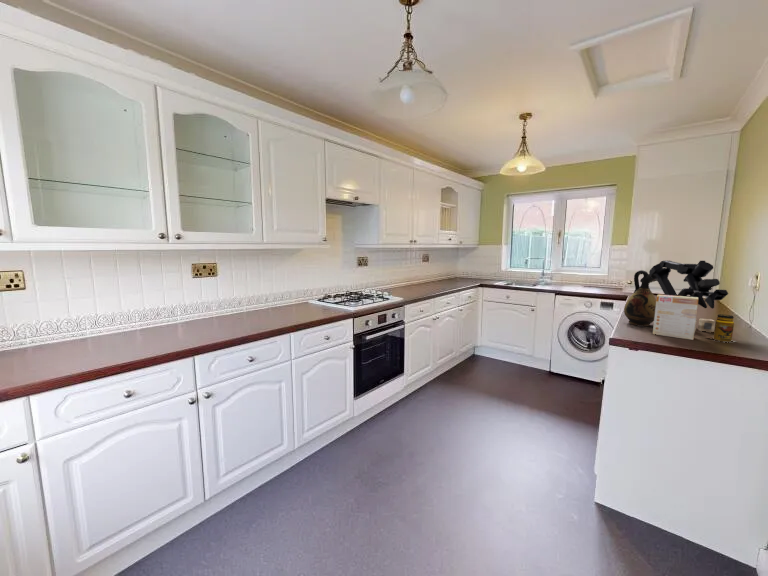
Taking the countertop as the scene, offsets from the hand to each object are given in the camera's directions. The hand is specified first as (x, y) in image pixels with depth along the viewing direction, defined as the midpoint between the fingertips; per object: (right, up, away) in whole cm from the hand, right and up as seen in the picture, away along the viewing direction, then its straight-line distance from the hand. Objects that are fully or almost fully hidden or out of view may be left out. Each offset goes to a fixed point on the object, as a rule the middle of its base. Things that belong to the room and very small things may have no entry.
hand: (709, 307), depth 163 cm
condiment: (-2, -15, -7) cm, 16 cm away
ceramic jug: (-16, -11, +25) cm, 31 cm away
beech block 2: (+8, -13, +11) cm, 18 cm away
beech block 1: (-2, -13, +9) cm, 16 cm away
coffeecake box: (-19, -14, 0) cm, 23 cm away
